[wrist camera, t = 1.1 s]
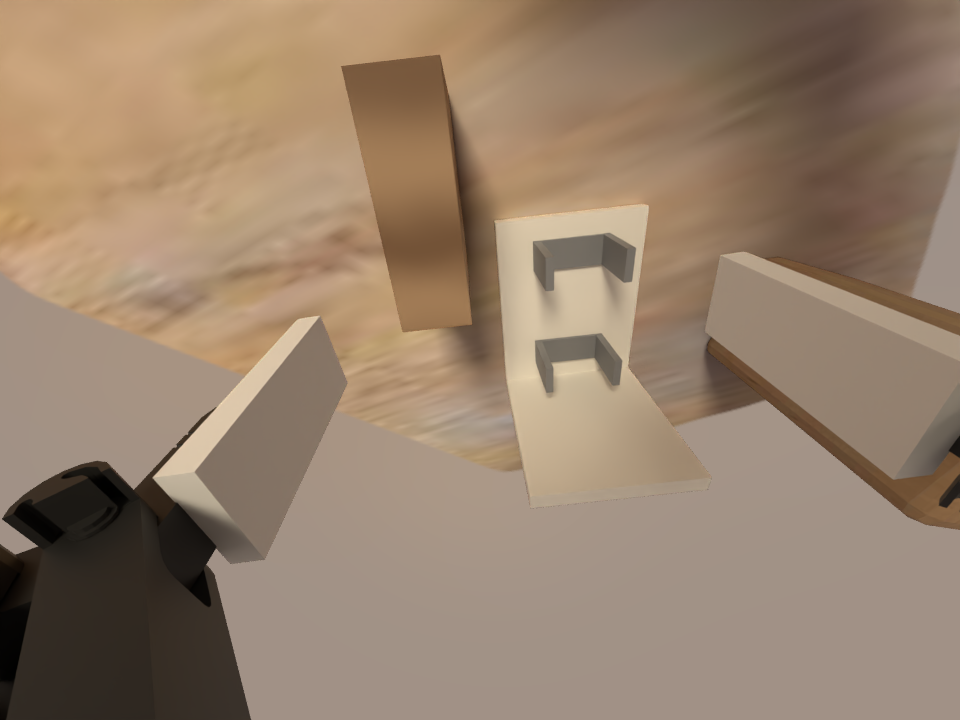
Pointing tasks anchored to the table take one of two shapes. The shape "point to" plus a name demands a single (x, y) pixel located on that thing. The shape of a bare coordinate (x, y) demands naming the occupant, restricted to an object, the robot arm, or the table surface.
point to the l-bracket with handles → (582, 361)
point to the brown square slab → (414, 186)
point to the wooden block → (905, 494)
